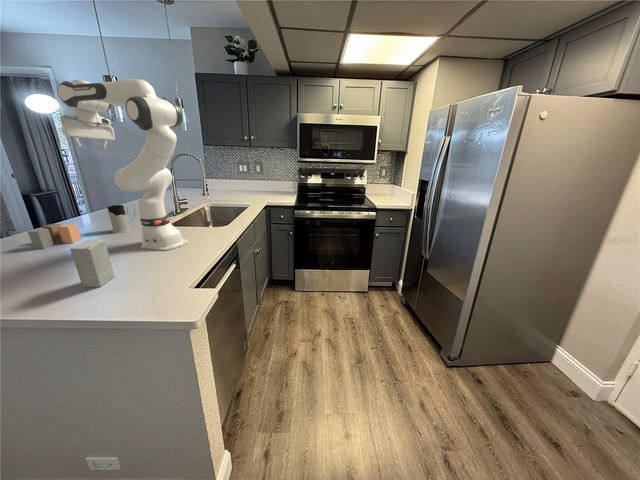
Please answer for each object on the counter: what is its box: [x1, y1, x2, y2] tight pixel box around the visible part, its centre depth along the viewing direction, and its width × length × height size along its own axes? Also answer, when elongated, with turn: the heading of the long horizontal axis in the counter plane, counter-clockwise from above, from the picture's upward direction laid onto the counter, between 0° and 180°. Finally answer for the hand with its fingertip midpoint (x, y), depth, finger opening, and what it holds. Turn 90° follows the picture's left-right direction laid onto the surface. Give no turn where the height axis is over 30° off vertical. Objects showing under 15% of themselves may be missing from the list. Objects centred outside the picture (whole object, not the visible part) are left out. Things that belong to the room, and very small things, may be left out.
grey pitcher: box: [107, 204, 137, 234], centre depth 154 cm, size 9×14×15 cm, turn 152°
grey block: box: [27, 227, 55, 250], centre depth 128 cm, size 5×5×9 cm
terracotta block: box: [58, 223, 82, 244], centre depth 136 cm, size 5×5×9 cm
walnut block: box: [41, 223, 63, 244], centre depth 136 cm, size 5×5×9 cm
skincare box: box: [69, 239, 115, 288], centre depth 94 cm, size 8×7×16 cm
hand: (92, 148), depth 131 cm, fingers open, 8 cm apart
